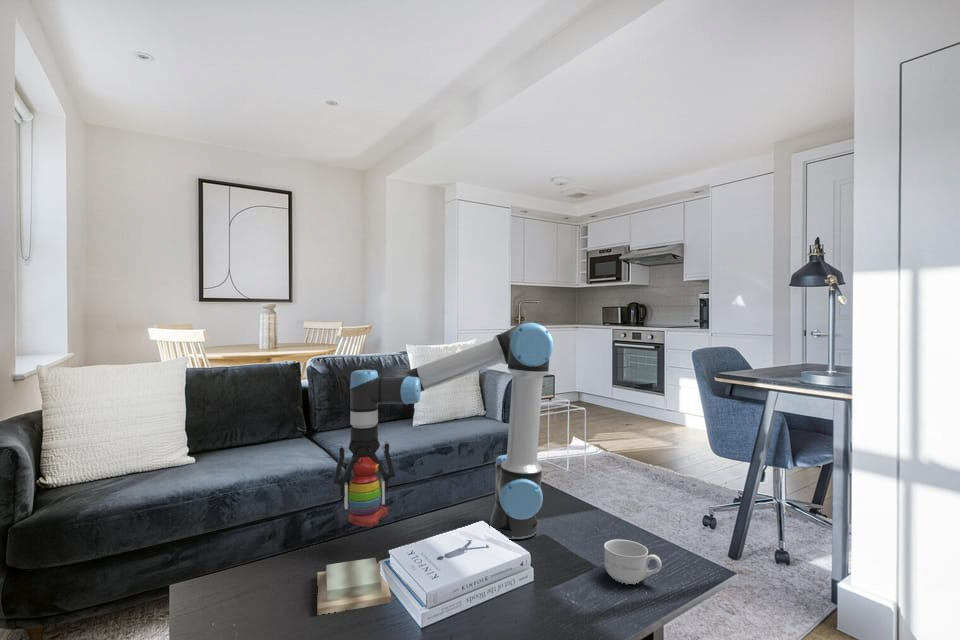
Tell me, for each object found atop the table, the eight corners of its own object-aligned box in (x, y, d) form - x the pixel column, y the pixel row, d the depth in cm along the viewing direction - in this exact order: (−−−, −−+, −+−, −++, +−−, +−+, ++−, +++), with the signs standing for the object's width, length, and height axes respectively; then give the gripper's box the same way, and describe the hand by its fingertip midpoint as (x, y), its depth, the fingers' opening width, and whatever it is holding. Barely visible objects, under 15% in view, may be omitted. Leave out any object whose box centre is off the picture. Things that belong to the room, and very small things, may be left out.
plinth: (382, 568, 124) (382, 552, 124) (391, 602, 109) (391, 585, 109) (317, 578, 119) (317, 562, 119) (317, 615, 103) (317, 597, 104)
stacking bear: (374, 527, 127) (374, 461, 127) (339, 524, 129) (339, 459, 129) (390, 511, 137) (389, 450, 137) (358, 509, 139) (357, 448, 140)
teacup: (596, 578, 120) (596, 546, 120) (616, 562, 128) (616, 533, 128) (649, 600, 111) (650, 566, 111) (667, 582, 119) (668, 550, 119)
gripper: (401, 419, 140) (401, 495, 140) (322, 425, 133) (323, 505, 133) (405, 424, 133) (406, 504, 133) (323, 431, 126) (323, 515, 126)
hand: (364, 505), depth 133 cm, fingers closed on stacking bear, 9 cm apart
